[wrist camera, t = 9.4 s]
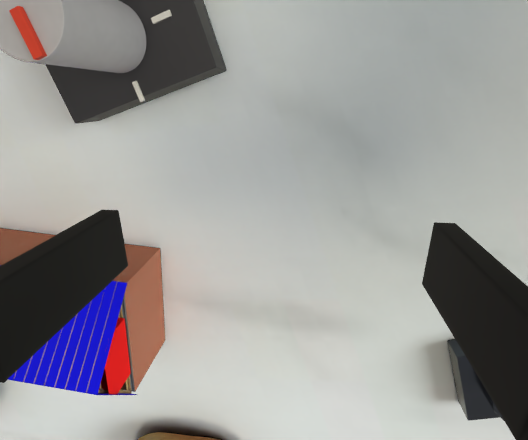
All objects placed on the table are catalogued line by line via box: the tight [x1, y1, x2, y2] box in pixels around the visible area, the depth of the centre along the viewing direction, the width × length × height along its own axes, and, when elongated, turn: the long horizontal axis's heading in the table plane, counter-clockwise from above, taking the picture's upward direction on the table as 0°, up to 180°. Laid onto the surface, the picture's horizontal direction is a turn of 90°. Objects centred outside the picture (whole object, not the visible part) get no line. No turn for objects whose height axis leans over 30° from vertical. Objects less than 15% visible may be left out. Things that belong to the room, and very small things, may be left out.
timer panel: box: [46, 0, 226, 123], centre depth 23 cm, size 12×9×3 cm
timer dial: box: [0, 0, 146, 73], centre depth 18 cm, size 4×4×8 cm
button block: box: [448, 339, 504, 420], centre depth 29 cm, size 10×8×4 cm
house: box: [0, 228, 165, 395], centre depth 29 cm, size 12×20×12 cm, turn 86°
